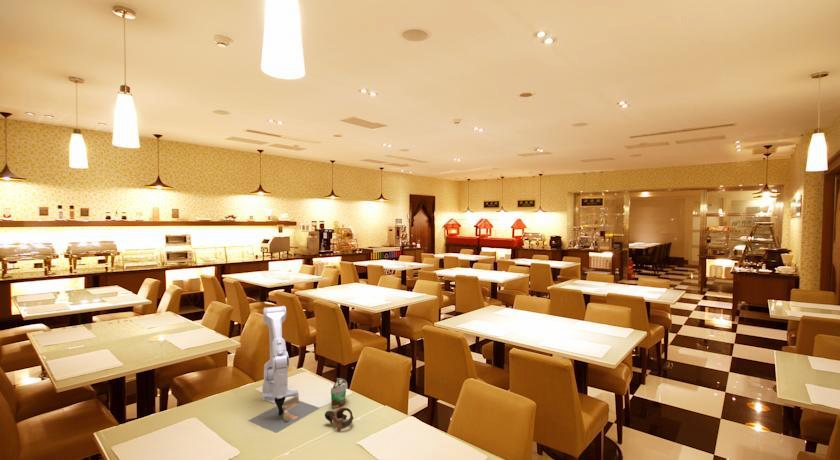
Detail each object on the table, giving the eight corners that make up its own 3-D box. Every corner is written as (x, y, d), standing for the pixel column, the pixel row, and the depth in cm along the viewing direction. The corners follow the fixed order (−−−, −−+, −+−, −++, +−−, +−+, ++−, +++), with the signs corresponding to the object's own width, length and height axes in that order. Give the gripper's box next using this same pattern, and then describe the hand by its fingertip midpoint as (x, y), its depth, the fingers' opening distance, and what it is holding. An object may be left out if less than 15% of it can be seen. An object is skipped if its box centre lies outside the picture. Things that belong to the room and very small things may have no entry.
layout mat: (247, 421, 170) (247, 420, 170) (292, 398, 190) (292, 398, 190) (276, 433, 161) (276, 432, 161) (320, 408, 181) (320, 407, 181)
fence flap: (279, 413, 176) (279, 405, 176) (282, 412, 177) (282, 404, 177) (285, 422, 168) (285, 414, 168) (289, 421, 169) (289, 413, 169)
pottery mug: (352, 418, 174) (356, 407, 170) (348, 439, 165) (351, 427, 161) (325, 412, 173) (328, 400, 169) (319, 433, 164) (322, 420, 160)
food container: (344, 411, 179) (344, 389, 179) (330, 410, 179) (330, 388, 179) (349, 398, 191) (349, 377, 191) (337, 398, 192) (337, 377, 191)
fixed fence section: (278, 412, 177) (277, 403, 177) (297, 402, 186) (297, 394, 186) (280, 413, 176) (280, 404, 176) (299, 403, 185) (299, 395, 185)
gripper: (261, 388, 166) (261, 420, 167) (297, 385, 170) (297, 416, 170) (263, 381, 173) (263, 412, 174) (298, 378, 177) (298, 409, 177)
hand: (280, 414), depth 172 cm, fingers closed, pressing on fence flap
